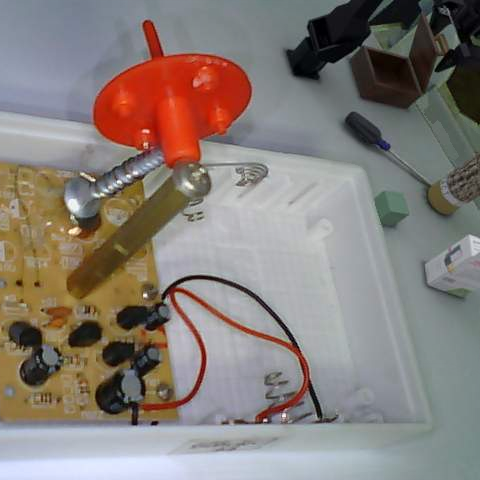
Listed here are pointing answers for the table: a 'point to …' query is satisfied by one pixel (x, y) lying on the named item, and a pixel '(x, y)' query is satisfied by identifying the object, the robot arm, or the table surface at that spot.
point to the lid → (425, 52)
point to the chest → (385, 77)
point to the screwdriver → (374, 137)
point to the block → (391, 207)
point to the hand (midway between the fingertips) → (430, 56)
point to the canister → (456, 187)
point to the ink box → (456, 268)
